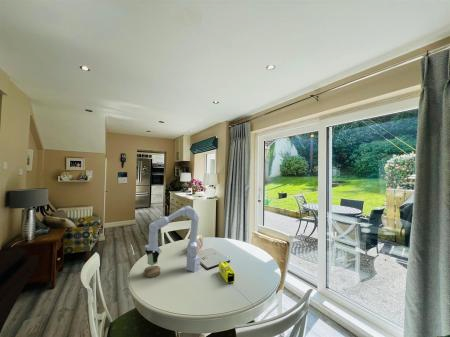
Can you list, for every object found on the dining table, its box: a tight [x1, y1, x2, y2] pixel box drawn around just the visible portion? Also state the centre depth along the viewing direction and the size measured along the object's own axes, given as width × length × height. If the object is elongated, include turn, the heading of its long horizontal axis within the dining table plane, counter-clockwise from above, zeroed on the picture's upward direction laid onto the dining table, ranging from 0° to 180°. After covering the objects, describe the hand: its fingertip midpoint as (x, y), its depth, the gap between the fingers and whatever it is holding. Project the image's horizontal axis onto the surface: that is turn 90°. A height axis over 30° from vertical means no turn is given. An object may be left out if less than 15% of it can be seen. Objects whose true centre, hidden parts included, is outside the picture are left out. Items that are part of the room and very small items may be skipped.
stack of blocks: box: [196, 234, 204, 252], centre depth 176 cm, size 21×6×12 cm, turn 173°
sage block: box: [147, 253, 159, 266], centre depth 134 cm, size 4×4×6 cm
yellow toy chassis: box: [218, 261, 236, 284], centre depth 133 cm, size 16×6×8 cm, turn 21°
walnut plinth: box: [143, 265, 161, 279], centre depth 134 cm, size 10×10×3 cm
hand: (152, 261), depth 134 cm, fingers closed on sage block, 4 cm apart
